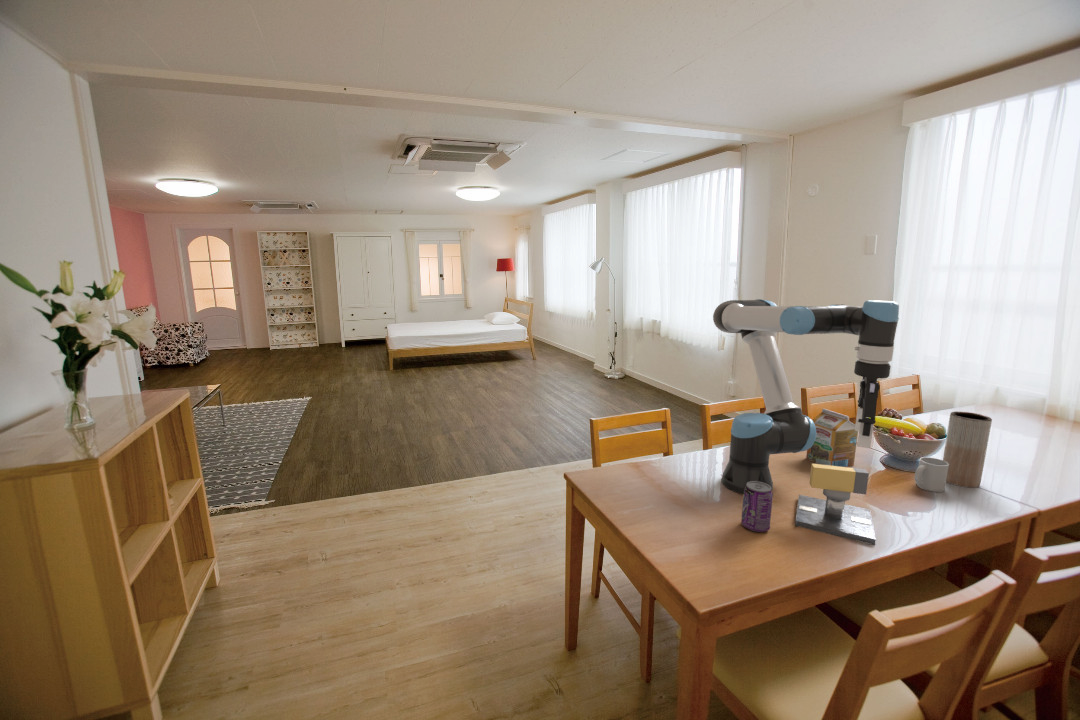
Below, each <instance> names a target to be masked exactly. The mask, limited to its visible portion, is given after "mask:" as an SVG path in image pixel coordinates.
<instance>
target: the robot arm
mask: <svg viewBox="0 0 1080 720" xmlns="http://www.w3.org/2000/svg"><path fill="white" fill-rule="evenodd" d="M899 309H900V305H899V303H898V302H896V301H894V300H878V299H877V300H865V301H864V302H863V305H862V306H855V305H854V306H853V305H846V304H829V305H819V306H818V305H817V306H816V305H815V306H814V305H809V306H807V305H804V306H803V305H794V306H793V305H789V306H788V305H787V306H783V305H777V304H776V303H775V302H774V301H771V300H768V299H767V300H766V299H759V298H758V299H757V298H756V299H739V300H738V299H737V300H736V299H731V300H726V301H724V302H722V303H720V304H719V305H718V306H717V307H716V308H715V309H714V311H713V314H712V320H713V323H714V326H715V327H716V328H717V329H718V330H720V331H721V332H723V333H728V334H740V335H741V339H742V342H744V343H746V344H748V347H749V351H750V354H751V357H752V361H753V366H754V369H755V372H756V377H757V379H758V384H759V387H760V390H761V394H762V399H763V401H764V406H765V411H764V412H763V413H762V412H746V413H740V414H738V415H736V416H735V417H734V418H733V420H732V424H731V427H730V443H729V444H730V447H729V459H728V462H727V464H726V466H725V468H724V471H723V473H722V475H721V483H722V485H723V486H724V487H725V488H727V489H728V490H730V491H732V492H735V493H738V494H741V495H744V489H745V487H746V484H747V482H750V481H758V482H763V483H766V484H768V485H769V486H771V488H772V489H771V491H772V492H773V487H774V485H773V484H774V482H773V479H772V475H771V471H770V467H769V463H770V456H771V455H779V454H780V455H781V454H789V453H790V454H791V453H792V454H796V453H801V452H804V451H806V452H807V450H808V449H810V448H811V447H812V445H813V444H814V441H815V439H816V427H815V424H814V422H813V419H811V417H809V416H807V415H805V414H804V413H803V410H802V408H801V407H800V406H798V405H796V403H795V402H794V399H793V395H792V392H791V388H790V385H789V381H788V377H787V375H786V374H787V373H786V372H785V368H784V365H783V361H782V360H783V359H782V357H781V353H780V351H779V347H778V343H777V341H776V336H777V335H778V333H786V334H787V335H794V336H804V335H815V334H816V335H819V334H820V335H822V334H824V335H825V334H846V335H847V334H848V335H854V336H858V341H857V344H858V345H857V346H855V347H854V351H856V359H857V360H856V361H855V364H854V370H853V371H854V372H853V373H854V374H855V375H857V376H858V377H862V378H861V379H862V380H860V382H859V396H858V400H857V411H856V417H855V418H856V419H855V423H854V424H855V431H858V436H857V444H856V447H860V448H865V449H871V444H872V438H873V432H874V425H875V424H876V421H877V420H876V413H877V405H878V404H877V403H878V402H877V401H878V397H879V391H880V387H881V385H880V383H879V382H878V379H887V378H889V377H890V373H891V366H892V364H891V363H890V362H892V361H893V354H894V349H895V338H896V334H897V333H896V332H897V328H898V322H899V320H900V318H899Z"/></svg>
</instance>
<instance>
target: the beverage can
mask: <svg viewBox="0 0 1080 720" xmlns="http://www.w3.org/2000/svg"><path fill="white" fill-rule="evenodd" d="M771 489H772V491H771ZM773 496H774V495H773V488H771V486H769V485H768V484H766V483H763V482H758V481H750V482H747V484H746V487H745V489H744V494H743V499H742V508H741V509H742V510H741V511H742V512H741V520H740V521H741V524H742V526H743V527H745V528H746V529H748V530H750V531H752V532H756V533H762V532H767V531H769V530H770V529H771V518H772V508H773V507H772V506H773V500H774V499H773Z"/></svg>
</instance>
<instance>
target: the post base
mask: <svg viewBox="0 0 1080 720" xmlns="http://www.w3.org/2000/svg"><path fill="white" fill-rule="evenodd" d="M825 498H826V499H822V498H816V497H812V496H807V495H803V494H798V499H797V507H796V513H795V515H796V516H795V523H794V526H795V527H800V528H802V529H803V528H804V529H807V530H811V531H816V532H820V533H823V534H829V535H832V536H836V537H841V538H844V539H849V540H852V541H857V542H861V543H865V544H869V545H874V546H875V545H876V541H877V540H876V539H877V538H876V534H875V528H874V522H873V516H872V511H871V509H868V508H866V507H865V508H864V507H860V506H854V505H851V504H846V501H839V500H834V499H831V498H828V497H826V496H825Z"/></svg>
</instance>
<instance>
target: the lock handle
mask: <svg viewBox="0 0 1080 720" xmlns="http://www.w3.org/2000/svg"><path fill="white" fill-rule="evenodd" d="M869 474H870V473H869V471H868V470H867V469H866V468H857V467H839V466H830V465H821V464H817V463H811V467H810V475H809V485H810V487H811V488H813V489H820V490H822V494H823V496H825V498H826V497H828V498H831V499H834V500H839V501H845V502H846V501H849V500H850V499H851V493H852V494H858V495H867V490H868V484H869V483H868V482H869Z"/></svg>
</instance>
